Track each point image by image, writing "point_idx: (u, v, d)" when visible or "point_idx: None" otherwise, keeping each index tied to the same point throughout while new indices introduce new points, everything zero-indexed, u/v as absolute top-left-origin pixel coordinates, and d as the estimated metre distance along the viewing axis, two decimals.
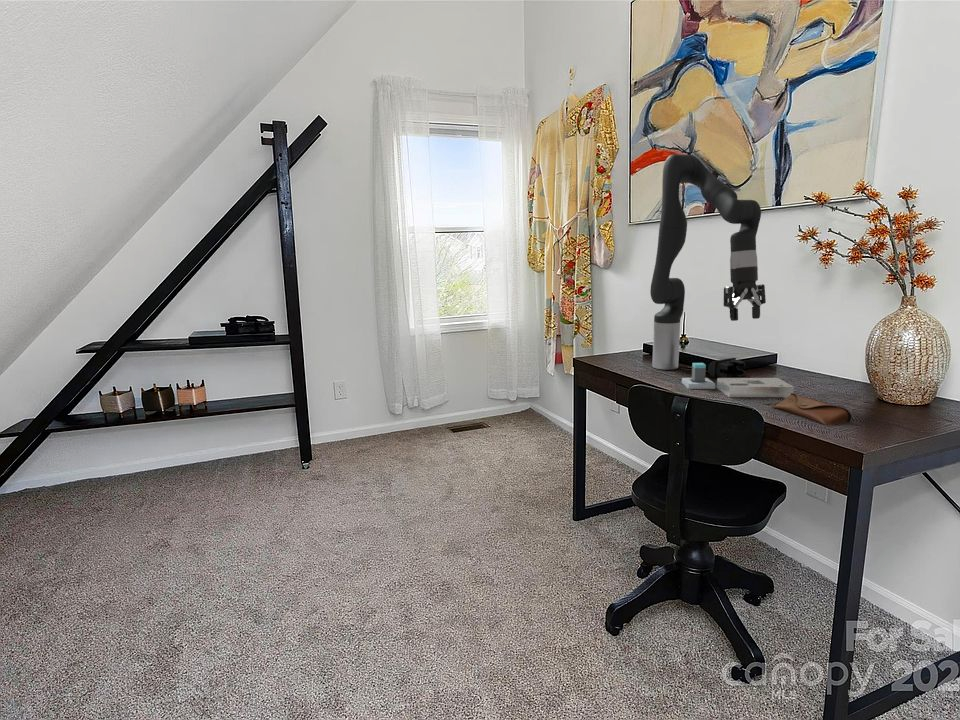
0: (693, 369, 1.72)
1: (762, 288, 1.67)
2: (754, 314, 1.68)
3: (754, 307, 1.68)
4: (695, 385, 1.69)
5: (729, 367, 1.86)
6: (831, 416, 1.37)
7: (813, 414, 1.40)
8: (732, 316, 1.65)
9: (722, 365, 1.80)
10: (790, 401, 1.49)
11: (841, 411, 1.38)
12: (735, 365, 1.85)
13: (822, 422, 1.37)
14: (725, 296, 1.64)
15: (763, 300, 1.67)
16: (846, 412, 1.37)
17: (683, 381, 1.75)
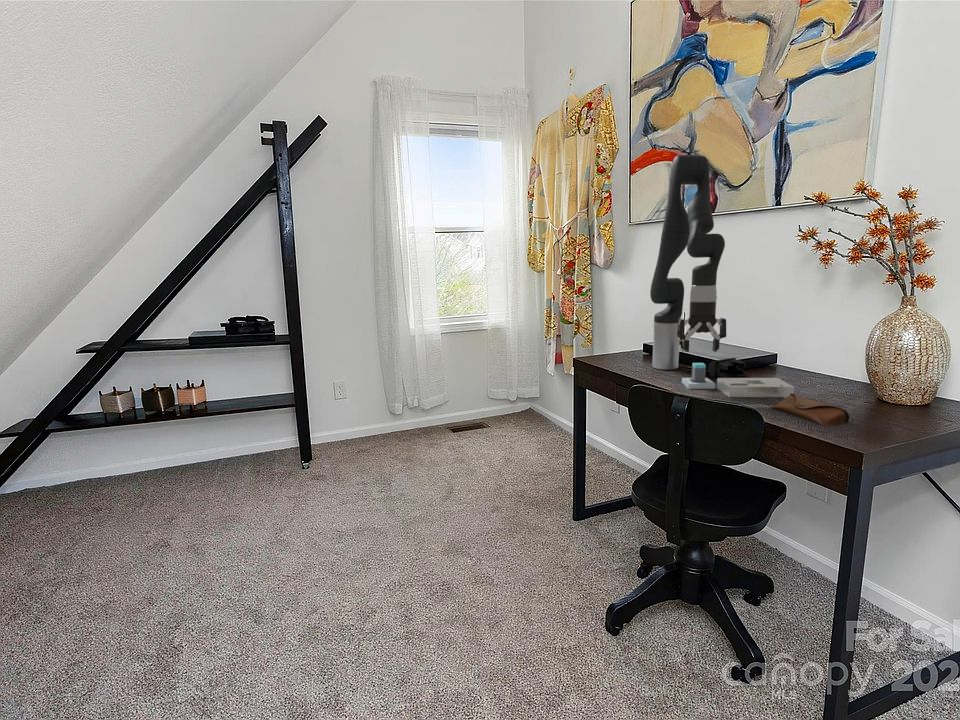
0: (693, 369, 1.72)
1: (723, 322, 1.67)
2: (713, 346, 1.70)
3: (714, 340, 1.70)
4: (695, 385, 1.69)
5: (729, 367, 1.86)
6: (828, 416, 1.37)
7: (811, 414, 1.40)
8: (683, 347, 1.71)
9: (722, 365, 1.80)
10: (789, 402, 1.49)
11: (839, 411, 1.37)
12: (735, 365, 1.85)
13: (819, 422, 1.36)
14: (678, 328, 1.70)
15: (723, 334, 1.68)
16: (844, 412, 1.37)
17: (683, 381, 1.75)
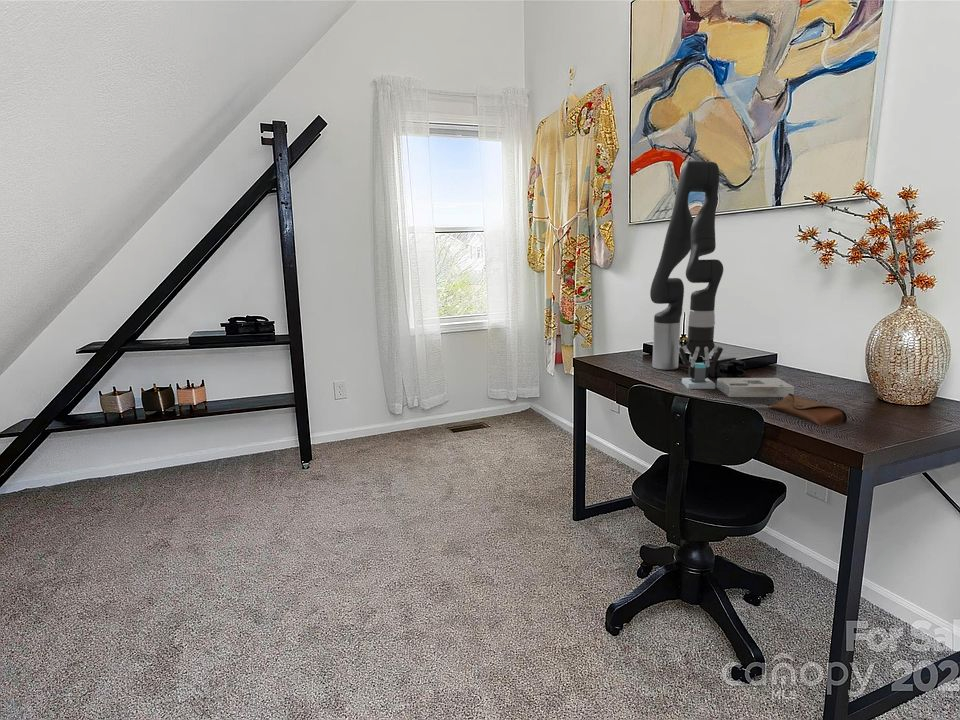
0: None
1: (719, 351, 1.69)
2: None
3: None
4: (695, 385, 1.69)
5: (729, 367, 1.86)
6: (826, 416, 1.37)
7: (809, 414, 1.40)
8: (689, 374, 1.72)
9: (722, 365, 1.80)
10: (787, 402, 1.49)
11: (837, 411, 1.37)
12: (735, 365, 1.85)
13: (817, 423, 1.36)
14: (680, 356, 1.72)
15: (713, 362, 1.70)
16: (842, 413, 1.37)
17: (683, 381, 1.75)
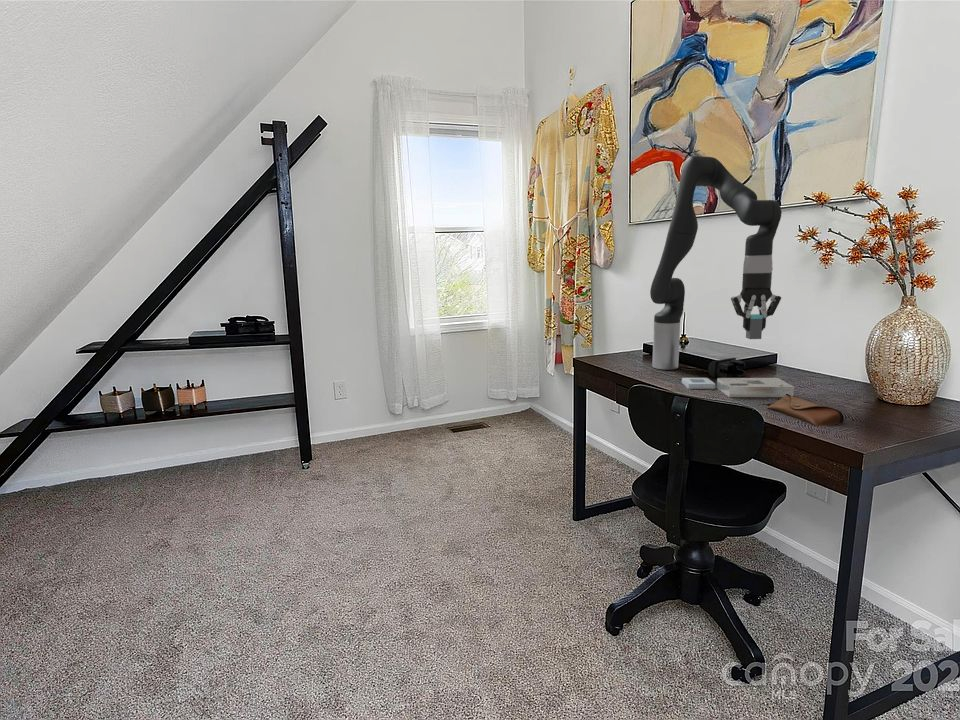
0: None
1: (777, 299, 1.57)
2: None
3: None
4: (695, 385, 1.69)
5: (729, 367, 1.86)
6: (822, 417, 1.37)
7: (805, 414, 1.39)
8: (744, 326, 1.60)
9: (722, 365, 1.80)
10: (784, 402, 1.48)
11: (833, 412, 1.37)
12: (735, 365, 1.85)
13: (813, 423, 1.36)
14: (734, 306, 1.60)
15: (770, 312, 1.58)
16: (838, 413, 1.37)
17: (683, 381, 1.75)
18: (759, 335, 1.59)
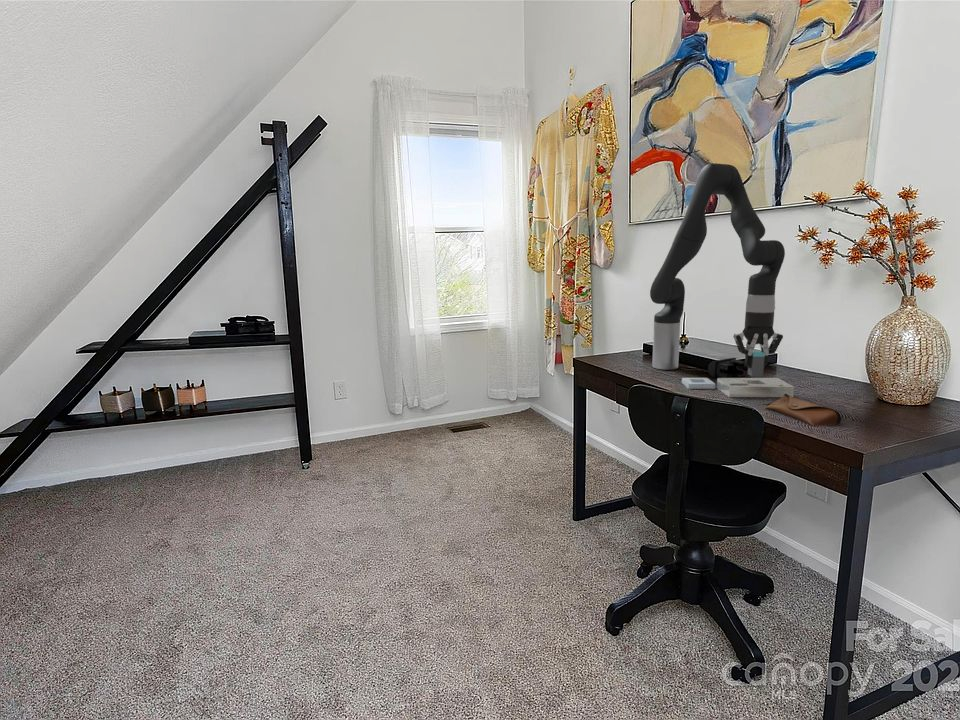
0: None
1: (778, 338, 1.59)
2: None
3: None
4: (695, 385, 1.69)
5: (729, 367, 1.86)
6: (819, 417, 1.37)
7: (802, 415, 1.39)
8: (746, 363, 1.62)
9: (722, 365, 1.80)
10: (782, 402, 1.48)
11: (831, 412, 1.37)
12: (735, 365, 1.85)
13: (810, 423, 1.36)
14: (737, 344, 1.62)
15: (772, 350, 1.60)
16: (836, 413, 1.36)
17: (683, 381, 1.75)
18: (761, 372, 1.61)
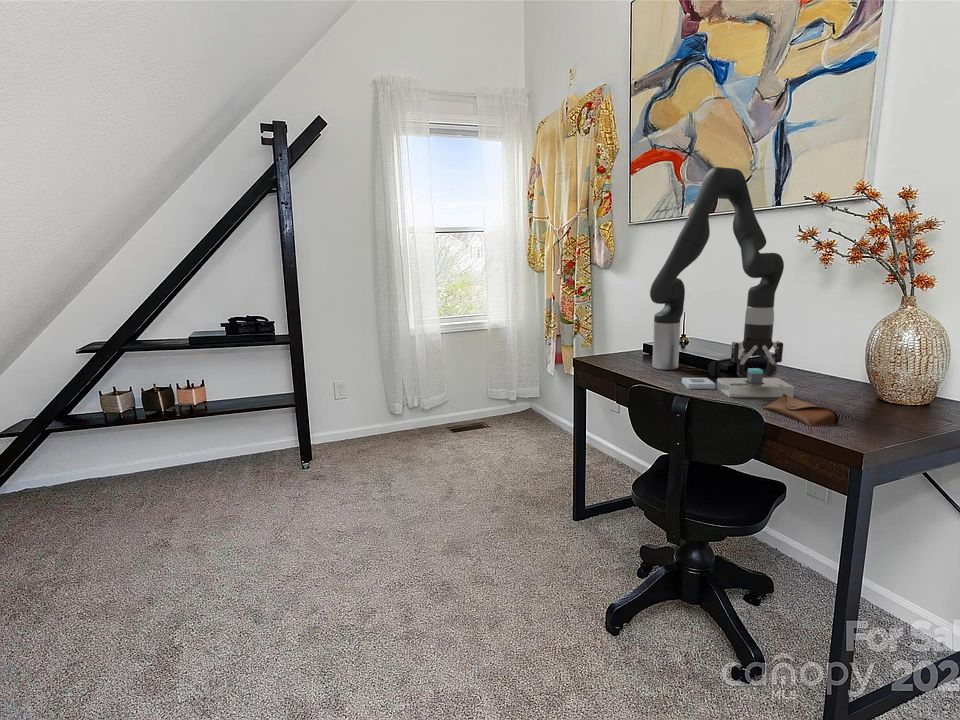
0: (749, 375, 1.63)
1: (779, 346, 1.59)
2: (767, 371, 1.62)
3: (768, 364, 1.62)
4: (695, 385, 1.69)
5: (729, 367, 1.86)
6: (817, 417, 1.37)
7: (800, 415, 1.39)
8: (738, 372, 1.63)
9: (722, 365, 1.80)
10: (780, 402, 1.48)
11: (828, 412, 1.37)
12: (735, 365, 1.85)
13: (807, 423, 1.36)
14: (732, 351, 1.62)
15: (778, 359, 1.60)
16: (833, 414, 1.36)
17: (683, 381, 1.75)
18: None
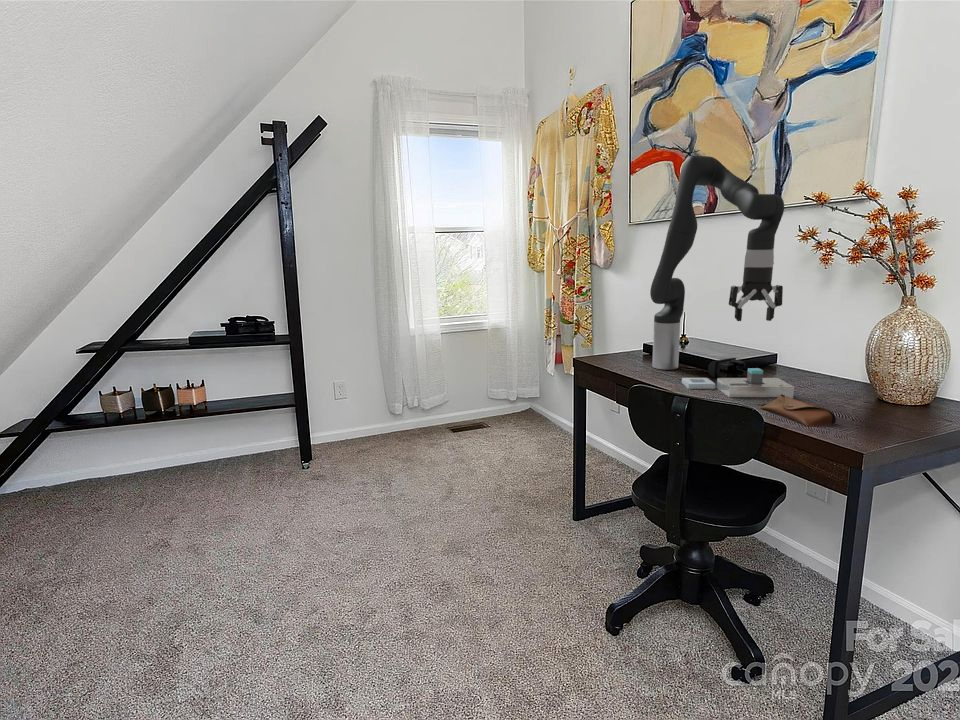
0: (749, 375, 1.63)
1: (779, 289, 1.57)
2: (767, 315, 1.60)
3: (768, 308, 1.60)
4: (695, 385, 1.69)
5: (729, 367, 1.86)
6: (814, 417, 1.36)
7: (797, 415, 1.39)
8: (735, 316, 1.61)
9: (722, 365, 1.80)
10: (778, 402, 1.48)
11: (825, 412, 1.37)
12: (735, 365, 1.85)
13: (804, 423, 1.36)
14: (730, 295, 1.61)
15: (779, 302, 1.58)
16: (830, 414, 1.36)
17: (683, 381, 1.75)
18: None
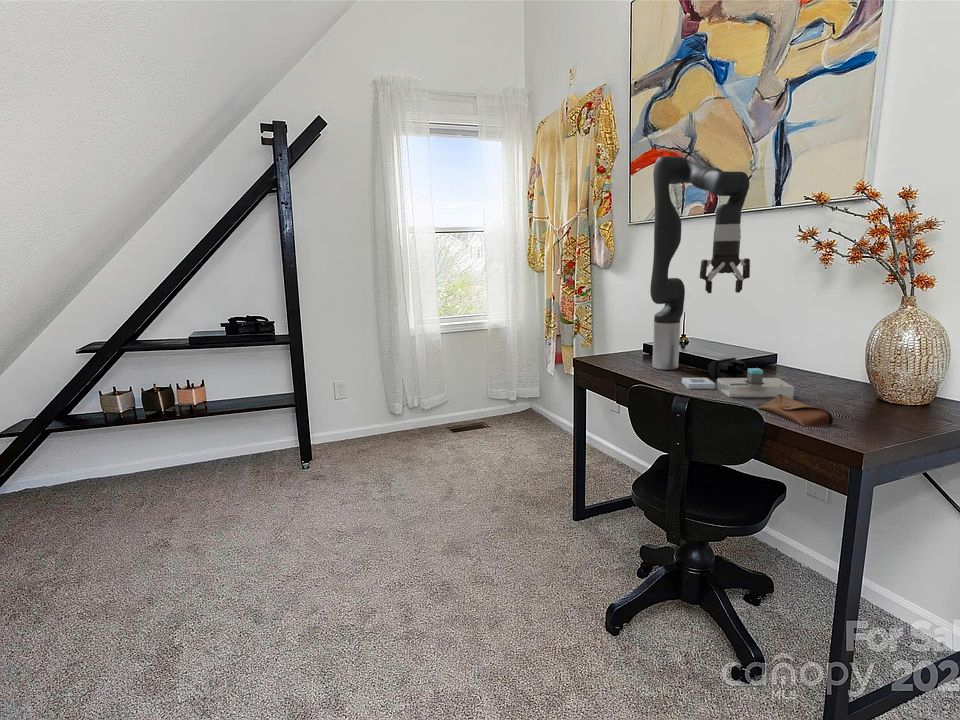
0: (749, 375, 1.63)
1: (746, 262, 1.66)
2: (736, 287, 1.69)
3: (737, 281, 1.68)
4: (695, 385, 1.69)
5: (729, 367, 1.86)
6: (811, 417, 1.36)
7: (794, 415, 1.39)
8: (706, 288, 1.69)
9: (722, 365, 1.80)
10: (775, 403, 1.48)
11: (822, 413, 1.36)
12: (735, 365, 1.85)
13: (801, 424, 1.36)
14: (701, 268, 1.69)
15: (746, 274, 1.66)
16: (827, 414, 1.36)
17: (683, 381, 1.75)
18: None
